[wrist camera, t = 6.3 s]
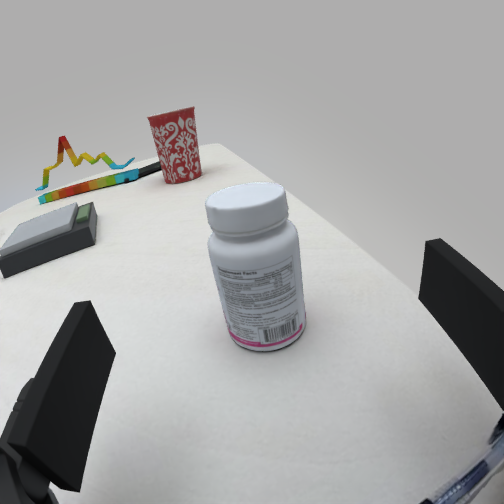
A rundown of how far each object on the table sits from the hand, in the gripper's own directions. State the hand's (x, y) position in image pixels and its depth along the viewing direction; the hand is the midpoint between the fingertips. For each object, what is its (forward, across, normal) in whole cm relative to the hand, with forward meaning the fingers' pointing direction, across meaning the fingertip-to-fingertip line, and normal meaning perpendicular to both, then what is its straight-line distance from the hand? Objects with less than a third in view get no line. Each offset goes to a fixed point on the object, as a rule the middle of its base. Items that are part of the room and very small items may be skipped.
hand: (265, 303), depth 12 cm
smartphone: (+68, -21, -6) cm, 72 cm away
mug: (+54, -11, -6) cm, 55 cm away
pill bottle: (+6, 0, -6) cm, 8 cm away
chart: (+65, -37, -6) cm, 75 cm away
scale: (+30, -28, -6) cm, 41 cm away
